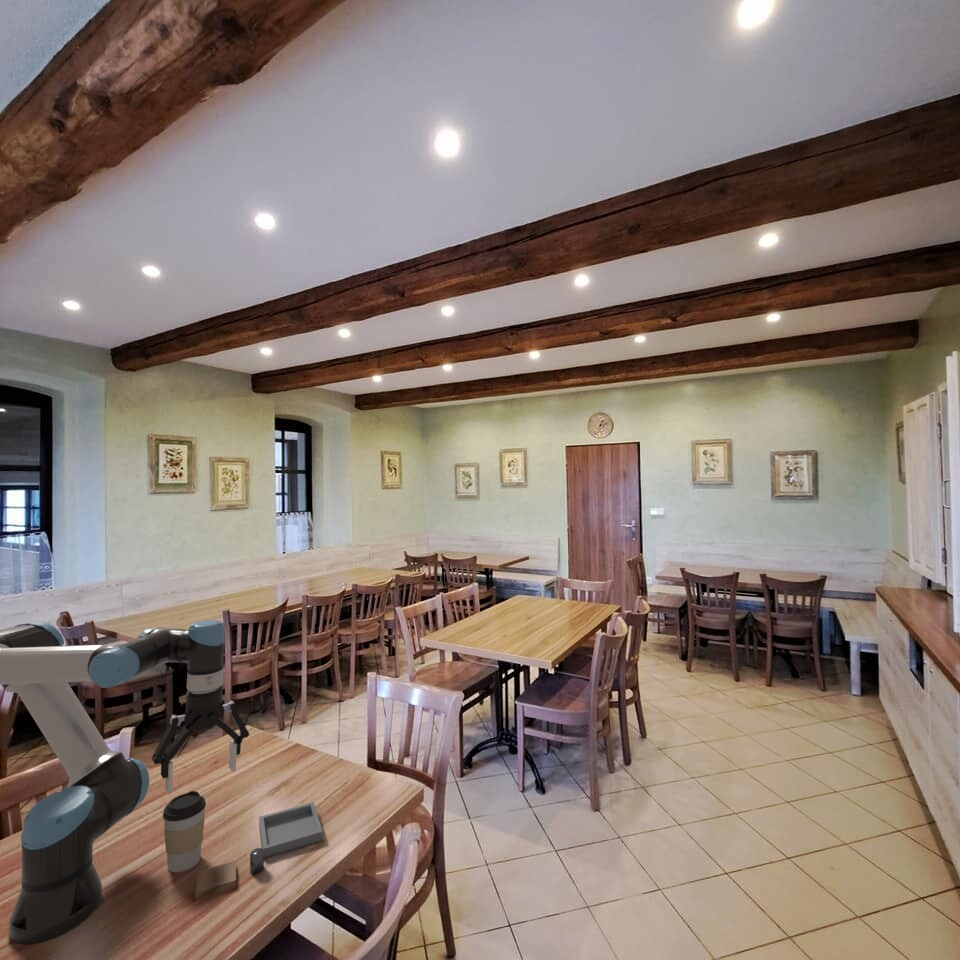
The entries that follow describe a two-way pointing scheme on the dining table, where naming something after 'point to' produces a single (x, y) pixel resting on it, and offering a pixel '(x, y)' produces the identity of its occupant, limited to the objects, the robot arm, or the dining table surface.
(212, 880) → the board
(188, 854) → the coffee cup
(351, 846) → the dining table surface
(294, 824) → the tray
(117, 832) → the dining table surface
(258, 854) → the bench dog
